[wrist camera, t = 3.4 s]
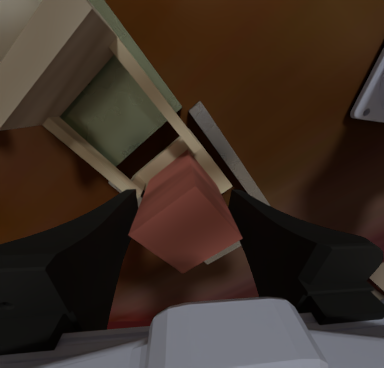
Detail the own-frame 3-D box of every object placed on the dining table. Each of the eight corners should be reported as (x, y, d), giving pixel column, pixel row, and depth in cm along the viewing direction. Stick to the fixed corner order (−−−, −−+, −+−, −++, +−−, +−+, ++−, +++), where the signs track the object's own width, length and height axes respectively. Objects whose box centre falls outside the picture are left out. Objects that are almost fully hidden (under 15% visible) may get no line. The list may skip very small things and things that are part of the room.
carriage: (229, 182, 14) (268, 239, 8) (179, 217, 16) (180, 288, 9) (120, 38, 9) (10, -91, 3) (60, 108, 11) (-98, 111, 4)
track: (275, 216, 17) (287, 229, 15) (206, 257, 19) (209, 272, 17) (71, -87, 7) (37, -149, 6) (-23, 63, 9) (-70, 53, 8)
